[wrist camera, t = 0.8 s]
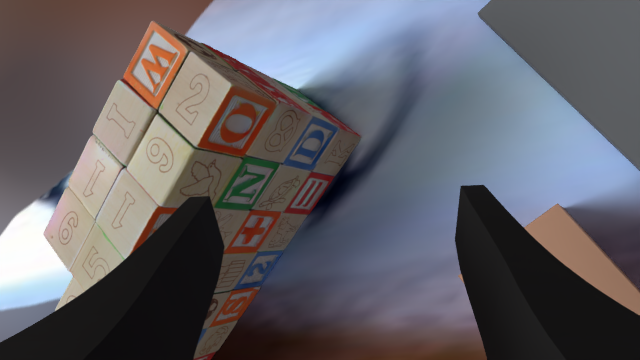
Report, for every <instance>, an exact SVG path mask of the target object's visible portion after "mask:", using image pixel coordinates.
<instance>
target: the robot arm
mask: <svg viewBox="0 0 640 360" xmlns="http://www.w3.org/2000/svg"><path fill="white" fill-rule="evenodd" d="M455 242H456V248H457V254H458V260H459V265H460V270H461V274H462V278H463V281H464V284H465V287H466V290H467V294H468V297H469V300H470V303H471V306H472V309H473V313H474V316H475V319H476V322H477V325H478V328H479V332H480V335H481V338H482V341H483V345H484V349H485V352H486V356H487V360H640V315H638V314H636V313H635V312H633V311H631V310H630V309H628V308H626V307H625V306H623V305H621V304H620V303H618V302H617V301H615V300H614V299H612V298H611V297H609V296H607V295H606V294H604V293H603V292H601V291H600V290H598V289H597V288H595V287H594V286H593V285H591V284H590V283H588V282H587V281H585V280H584V279H583V278H581V277H580V276H579V275H577V274H576V273H575V272H573V271H572V270H571V269H569V268H568V267H567V266H566V265H564V264H563V263H562V262H561V261H559V260H558V259H557V258H556V257H555V256H553V255H552V254H551V253H550V252H549V251H548V250H547V249H546V248H544V247H543V246H542V245H541V244H540V243H539V242H538V241H537V240H536V239H535V238H534V237H533V236H532V235H531V234H530V233H529V232H528V231H527V230H525V229H524V228H523V227H522V226H521V225H520V224H519V223H518V222H517V221H516V219H515V218H514V217H513V216H512V215H511V214H510V213H509V212H508V211H507V210H506V209H505V208H504V207H503V206H502V205H501V203H500V202H499V201H498V200H497V199H496V198H495V197H494V196H493V195H492V193H491V192H490V191H489V190H488V189H487V188H486V187H485V186H484V185H471V186H461V189H460V198H459V208H458V217H457V226H456V236H455ZM224 247H225V246H224V243H223V240H222V236H221V233H220V229H219V226H218V222H217V219H216V216H215V212H214V209H213V205H212V202H211V199H210V196H199V197H189V198H188V199H187V200H186V201H185V202H184V203H183V204H182V205H181V206H180V207H179V208H178V209H177V210H176V211H175V212H174V213H173V214H172V215H171V216H170V217H169V218H168V219H167V220H166V221H165V222H164V223H163V224H162V225H161V226H160V227H159V228H158V229H157V230H156V231H155V232H154V233H153V234H152V235H151V236H150V237H149V238H148V239H147V240H146V241H145V242H144V243H143V244H141V245H140V246H139V247H138V248H137V249H136V250H135V251H134V252H133V253H131V254H130V255H129V256H128V257H127V258H126V259H125V260H124V261H123V262H121V263H120V264H119V265H118V266H117V267H116V268H114V269H113V270H112V271H111V272H110V273H108V274H107V275H106V276H105V277H103V278H102V279H101V280H99V281H98V282H97V283H95V284H94V285H93V286H91V287H90V288H89V289H87V290H86V291H85V292H83V293H82V294H80V295H79V296H77V297H76V298H74V299H73V300H71V301H70V302H68V303H67V304H65V305H64V306H62V307H61V308H59V309H58V310H56V311H55V312H53V313H52V314H50V315H49V316H47V317H45V318H43V319H42V320H40V321H38V322H37V323H35V324H33V325H32V326H30V327H28V328H26V329H24V330H23V331H21V332H19V333H17V334H15V335H14V336H12V337H10V338H8V339H6V340H4V341H2V342H0V360H193V359H194V355H195V351H196V348H197V344H198V341H199V338H200V335H201V332H202V329H203V326H204V323H205V320H206V317H207V314H208V310H209V307H210V304H211V301H212V298H213V295H214V292H215V289H216V286H217V282H218V279H219V275H220V270H221V265H222V259H223V253H224Z"/></svg>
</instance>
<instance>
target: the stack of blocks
mask: <svg viewBox="0 0 640 360" xmlns="http://www.w3.org/2000/svg"><path fill="white" fill-rule="evenodd" d="M93 134H94V135H93V136H91V137H90V138H89V140H88V142H87V144H86V146H85V149H84V151H83V153H82V155H81V157H80V158H79V161H78V163H77V165H76V167H75V169H74V171H73V173H72V175H71V177H70V179H69V187H67V188H66V189H65V191H64V193H63V195H62V197H61V199H60V201H59V203H58V205H57V207H56V209H55V211H54V213H53V215H52V217H51V219H50V221H49V223H48V225H47V227H46V229H45V231H44V236H45V238H46V239H47V241H48V242H49V244H50V245H51V246H52V248H53V249H54V251H55V252H56V254H57V255H58V257H59V258H60V259H61V261H62V262H63V264H64V265H65V267H66V268H67V270H68V271H70V272H71V273H72V275H73V278H72V280H71V281H70V283H69V285H68V287H67V289H66V291H65V293H64V294H63V296H62V298H61V300H60V302H59V304H58V305H57V307H56V309H55V311H56V310H58V309H59V308H61V307H62V306H64V305H65V304H67V303H68V302H70V301H71V300H73V299H74V298H76V297H77V296H79V295H80V294H82V293H83V292H85V291H86V290H87V289H89V288H90V287H91V286H93V285H94V284H95V283H97V282H98V281H99V280H101V279H102V278H103V277H105V276H106V275H107V274H108V273H110V272H111V271H112V270H113V269H114V268H116V267H117V266H118V265H119V264H120V263H121V262H123V261H124V260H125V259H126V258H127V257H128V256H129V255H130V254H131V253H133V252H134V251H135V250H136V249H137V248H138V247H139V246H140V245H141V244H143V243H144V242H145V241H146V240H147V239H148V238H149V237H150V236H151V235H152V234H153V233H154V232H155V231H156V230H157V229H158V228H159V227H160V226H161V225H162V224H163V223H164V222H165V221H166V220H167V219H168V218H169V217H170V216H171V215H172V214H173V213H174V212H175V211H176V210H177V209H178V208H179V207H180V206H181V205H182V204H183V203H184V202H185V201H186V200H187V199H188V198H189V197H199V196H210V199H211V202H212V205H213V209H214V212H215V216H216V219H217V222H218V226H219V229H220V233H221V236H222V240H223V243H224V246H225V247H224V253H223V259H222V265H221V270H220V275H219V279H218V282H217V286H216V289H215V292H214V295H213V298H212V301H211V304H210V307H209V310H208V314H207V317H206V320H205V323H204V326H203V329H202V332H201V335H200V338H199V341H198V344H197V348H196V351H195V355H194V359H193V360H211V359H212V357H213V355H214V354H215V352H216V351H218V350H219V349H220V347H221V346H222V344H223V343H224V341H225V340H226V338H227V337H228V335H229V334H230V332H231V331H232V329H233V328H234V326H235V325H236V323H237V321H238V319H239V318H240V317H241V316H242V315H243V313H244V312H245V310H246V309H247V307H248V306H249V304H250V303H251V301H252V300H253V298H254V297H255V295H256V294H257V292H258V291H259V290H260V286H261V284H262V283H263V282H264V280H265V279H266V277H267V276H268V274H269V273H270V271H271V270H272V268H273V267H274V265H275V264H276V262H277V261H278V259H279V258H280V256H281V255H282V254H283V251H284V249H285V248H286V247H287V245H288V244H289V242H290V241H291V239H292V238H293V236H294V235H295V233H296V232H297V230H298V229H299V227H300V226H301V224H302V223H303V221H304V220H305V218H306V217H307V215H308V214H310V213H311V211H312V210H313V208H314V207H315V205H316V204H317V202H318V201H319V199H320V198H321V196H322V195H323V193H324V192H325V191H326V189H327V188H328V186H329V185H330V183H331V182H332V180H333V179H334V177H335V176H336V174H337V173H338V172H339V170H340V169H341V167H342V166H343V165H344V163H345V162H346V160H347V159H348V157H349V156H350V154H351V153H352V151H353V150H354V148H355V147H356V145H357V144H358V142H359V141H360V139H361V136H360V135H358V134H357V133H356V132H354V131H353V130H351V129H350V128H349V127H347V126H346V125H345V124H343V123H342V122H341V121H339V120H338V119H336V118H335V117H334V116H332V115H331V114H330V113H328V112H326V111H324V110H323V109H322V108H320V107H319V106H318V105H316V104H315V103H314V102H312V101H311V100H310V99H308V98H307V97H306V96H304V95H303V94H302V93H300V92H299V91H298V90H296V89H294V88H293V87H291V86H288V85H286V84H284V83H282V82H280V81H278V80H276V79H273V78H271V77H269V76H267V75H265V74H263V73H261V72H259V71H257V70H255V69H253V68H251V67H249V66H247V65H245V64H243V63H240V62H239V61H238V60H236V59H234V58H232V57H230V56H228V55H226V54H223V53H222V52H220V51H218V50H215V49H213V48H212V47H210V46H208V45H206V44H204V43H199V42H197V41H195V40H193V39H191V38H188V37H186V36H184V35H182V34H180V33H178V32H176V31H174V30H172V29H170V28H168V27H166V26H164V25H162V24H160V23H157V22H155V21H152V22H151V23H150V26H149V28H148V29H147V32H146V33H145V35H144V37H143V39H142V41H141V43H140V45H139V47H138V49H137V51H136V53H135V55H134V57H133V58H132V60H131V62H130V64H129V66H128V68H127V70H126V72H125V74H124V79H122V80H118V81H117V82H116V84H115V87H114V88H113V91H112V92H111V94H110V96H109V98H108V100H107V102H106V104H105V106H104V109H103V110H102V112H101V114H100V116H99V118H98V121H97V122H96V125H95V127H94V129H93Z"/></svg>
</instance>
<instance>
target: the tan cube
mask: <svg viewBox="0 0 640 360" xmlns="http://www.w3.org/2000/svg"><path fill="white" fill-rule="evenodd" d="M524 229H525V230H527V231H528V232H529V233H530V234H531V235H532V236H533V237H534V238H535V239H536V240H537V241H538V242H539V243H540V244H541V245H542V246H543V247H544V248H546V249H547V250H548V251H549V252H550V253H551V254H552V255H553V256H555V257H556V258H557V259H558V260H559V261H561V262H562V263H563V264H564V265H566V266H567V267H568V268H569V269H571V270H572V271H573V272H575V273H576V274H577V275H579V276H580V277H581V278H583V279H584V280H585V281H587V282H588V283H590V284H591V285H593V286H594V287H595V288H597V289H598V290H600V291H601V292H603V293H604V294H606V295H607V296H609V297H611V298H612V299H614V300H615V301H617V302H618V303H620V304H621V305H623V306H625V307H626V308H628V309H630V310H631V311H633V312H635V313H636V314H638V315H640V290H639V289H638V288H637V287H636V286H635V285H634V283H633V282H632V281H631V280H630V279H629V278H628V277H627V276H626V275H625V274H624V273H623V272H622V270H621V269H620V268H619V267H618V266H617V265H616V264H615V263H614V262H613V261H612V260H611V259H610V257H609V256H608V255H607V254H606V253H605V252H604V251H603V250H602V249H601V248H600V247H599V246H598V244H597V243H596V242H595V241H594V240H593V239H592V238H591V237H590V236H589V235H588V234H587V233H586V232H585V230H584V229H583V228H582V227H581V226H580V225H579V224H578V223H577V222H576V221H575V220H574V219H573V217H572V216H571V215H570V214H569V213H568V212H567V211H566V210H565V209H564V208H563V207H562V206H560V205H559V204H556V205H555V206H553V207H552V208H550V209H549V210H548V211H546V212H545V213H544V214H542V215H541V216H540V217H538V218H537V219H535V220H534V221H533V222H531V223H530V224H529V225H527V226H526V227H524ZM459 278H460V279H461V280H462V282H463V283H464V281H463V278H462V274H460V275H459Z"/></svg>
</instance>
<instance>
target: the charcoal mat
mask: <svg viewBox="0 0 640 360" xmlns="http://www.w3.org/2000/svg"><path fill="white" fill-rule="evenodd" d="M478 15H479V17H480V18H481V19H482V20H483V21H484V22H485V23H486V24H487V25H488V26H489V27H490V28H491V29H492V30H493V31H494V32H495V33H496V34H497V35H499V36H500V37H501V38H502V39H503V40H504V41H505V42H506V43H507V44H508V45H509V46H510V47H511V48H512V49H513V50H514V51H515V52H516V53H517V54H518V55H519V56H520V57H521V58H523V59H524V60H525V61H526V62H527V63H528V64H529V65H530V66H531V67H532V68H533V69H534V70H535V71H536V72H537V73H538V74H539V75H540V76H541V77H542V78H543V79H544V80H545V81H547V82H548V83H549V84H550V85H551V86H552V87H553V88H554V89H555V90H556V91H557V92H558V93H559V94H560V95H561V96H562V97H563V98H564V99H565V100H566V101H567V102H568V103H570V104H571V105H572V106H573V107H574V108H575V109H576V110H577V111H578V112H579V113H580V114H581V115H582V116H583V117H584V118H585V119H586V120H587V121H588V122H589V123H590V124H591V125H592V126H594V127H595V128H596V129H597V130H598V131H599V132H600V133H601V134H602V135H603V136H604V137H605V138H606V139H607V140H608V141H609V142H610V143H611V144H612V145H613V146H614V147H615V148H616V149H618V150H619V151H620V152H621V153H622V154H623V155H624V156H625V157H626V158H627V159H628V160H629V161H630V162H631V163H632V164H633V165H634V166H635V167H636V168H637V169H638V170H639V171H640V0H491V1H490V2H489V3H488V4H487V5H486V6H485V7H484V8H482V9H481V10H480V11H479V12H478Z"/></svg>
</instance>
